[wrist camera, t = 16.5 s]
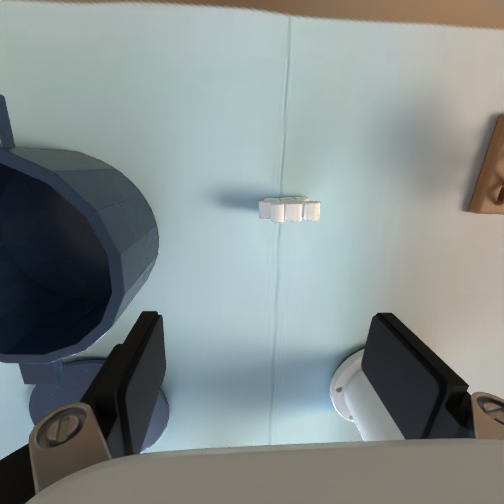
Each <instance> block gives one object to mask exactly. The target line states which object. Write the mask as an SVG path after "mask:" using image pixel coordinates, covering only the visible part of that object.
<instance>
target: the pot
mask: <svg viewBox="0 0 504 504" xmlns="http://www.w3.org/2000/svg"><path fill="white" fill-rule="evenodd" d="M158 248H159V236H158V228H157V225H156V221H155V218H154V215H153V213H152V210H151V208H150V206H149V204H148V203H147V201H146V199H145V198H144V196H143V195H142V193H141V192H140V191H139V189H138V188H137V187H136V186H135V185H134V184H133V183H132V182H131V181H130V180H129V179H128V178H127V177H126V176H124V175H123V174H122V173H121V172H119V171H118V170H116V169H115V168H114V167H112V166H110V165H109V164H107V163H105V162H103V161H101V160H99V159H96V158H94V157H91V156H88V155H86V154H83V153H81V152H73V151H61V150H48V149H35V148H22V147H15V143H14V139H13V134H12V130H11V125H10V120H9V116H8V111H7V106H6V102H5V97H4V96H3V95H1V94H0V362H3V363H4V362H5V363H19V367H20V370H21V374H22V377H23V381H24V384H58V382H59V381H60V380H61V378H62V377H63V376H64V375H65V373H64V369H63V364H62V359H63V358H66V357H69V356H72V355H75V354H78V353H81V352H84V351H86V350H87V349H88V348H89V347H91V346H92V345H93V344H94V343H95V342H96V341H97V340H99V339H100V338H101V337H102V336H103V335H104V334H105V333H107V332H108V331H109V330H110V329H111V328H112V327H113V325H114V324H115V323H116V321H117V320H118V319H119V317H120V316H121V315H122V313H123V312H124V311H125V309H126V308H127V306H128V305H129V304H130V302H131V301H132V300H133V298H134V297H135V296H136V294H137V293H138V291H139V290H140V289H141V287H142V286H143V285H144V283H145V282H146V281H147V279H148V277H149V275H150V272H151V270H152V269H153V267H154V264H155V261H156V258H157V256H158Z"/></svg>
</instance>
